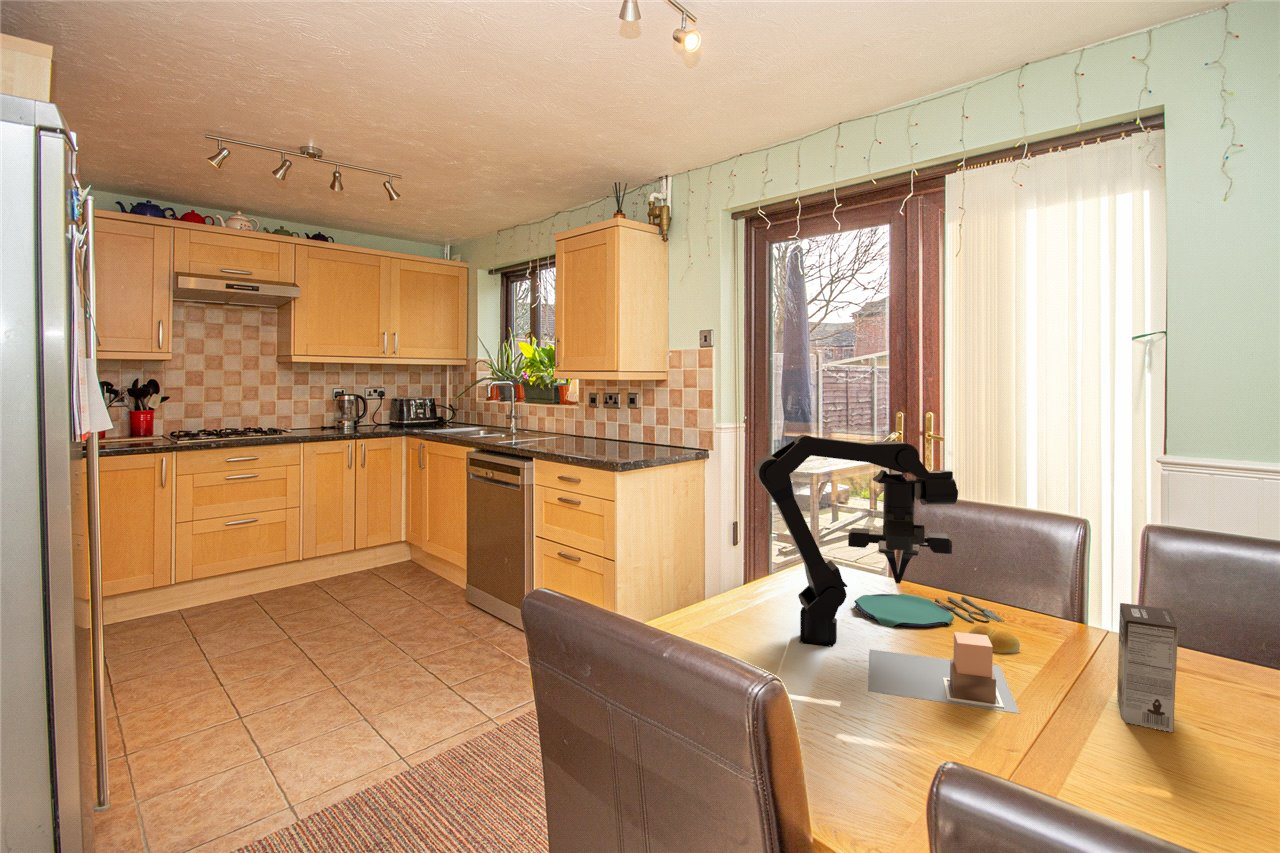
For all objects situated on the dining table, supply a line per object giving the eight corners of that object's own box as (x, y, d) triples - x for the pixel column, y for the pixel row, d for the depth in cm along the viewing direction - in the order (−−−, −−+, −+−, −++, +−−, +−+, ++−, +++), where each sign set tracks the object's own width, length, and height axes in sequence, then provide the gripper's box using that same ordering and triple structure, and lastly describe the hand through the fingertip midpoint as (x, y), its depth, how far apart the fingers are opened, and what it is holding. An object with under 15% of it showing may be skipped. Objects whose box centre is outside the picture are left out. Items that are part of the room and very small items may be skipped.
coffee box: (1115, 697, 104) (1118, 601, 103) (1165, 707, 101) (1169, 608, 100) (1121, 723, 97) (1125, 618, 96) (1176, 734, 93) (1180, 626, 92)
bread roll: (1010, 660, 119) (1011, 639, 119) (961, 646, 126) (961, 626, 126) (1026, 648, 125) (1027, 628, 124) (978, 635, 131) (978, 616, 131)
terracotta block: (957, 673, 104) (957, 642, 103) (953, 660, 108) (953, 631, 108) (992, 677, 102) (992, 646, 102) (986, 664, 107) (987, 635, 106)
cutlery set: (841, 602, 152) (841, 592, 152) (961, 599, 155) (962, 590, 155) (879, 635, 132) (879, 624, 132) (1016, 631, 135) (1017, 621, 135)
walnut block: (953, 698, 103) (954, 673, 103) (949, 682, 109) (950, 659, 109) (995, 704, 101) (996, 679, 101) (989, 687, 107) (990, 664, 107)
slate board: (868, 694, 106) (868, 689, 106) (869, 652, 123) (869, 648, 123) (1019, 717, 98) (1019, 712, 98) (999, 668, 115) (999, 664, 115)
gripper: (847, 510, 122) (846, 590, 123) (955, 515, 115) (954, 600, 116) (849, 500, 132) (849, 574, 133) (949, 505, 126) (948, 583, 127)
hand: (897, 583), depth 127 cm, fingers closed
